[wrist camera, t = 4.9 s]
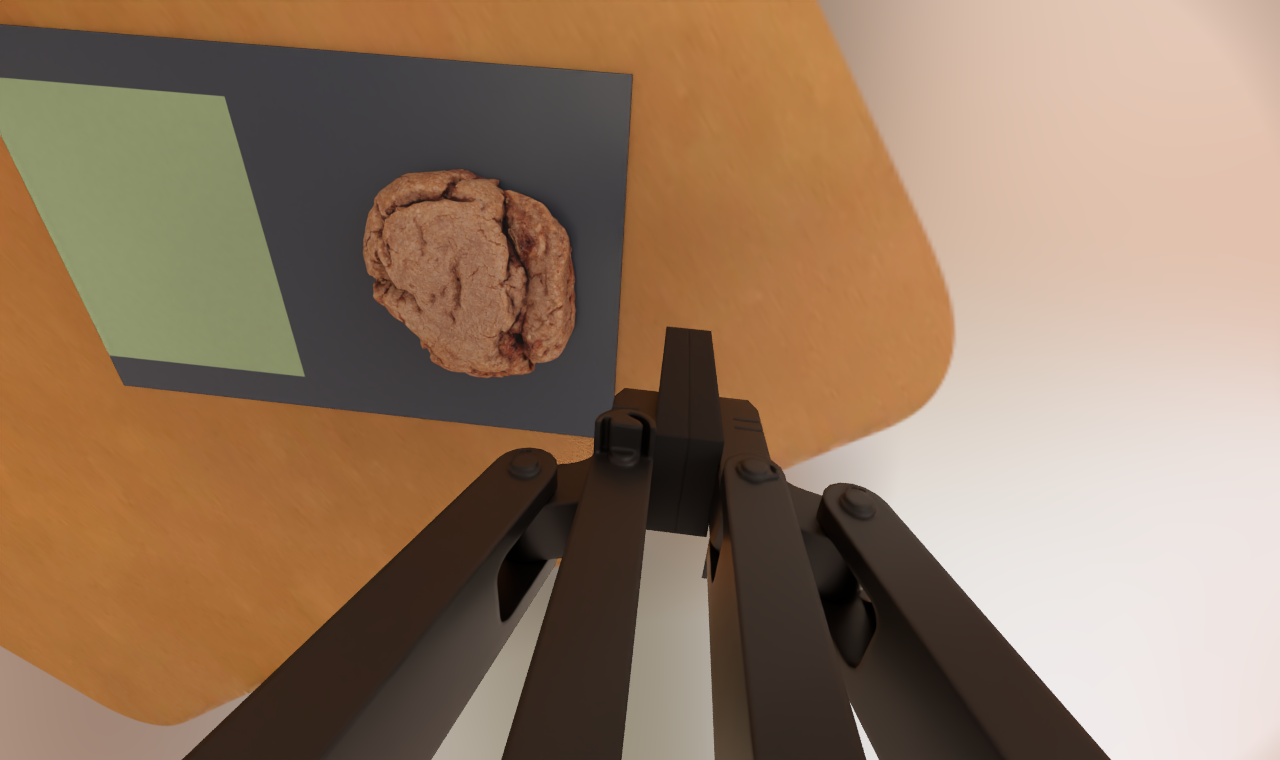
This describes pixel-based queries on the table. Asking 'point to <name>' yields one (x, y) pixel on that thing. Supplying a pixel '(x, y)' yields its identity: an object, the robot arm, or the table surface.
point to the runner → (305, 211)
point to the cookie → (472, 271)
